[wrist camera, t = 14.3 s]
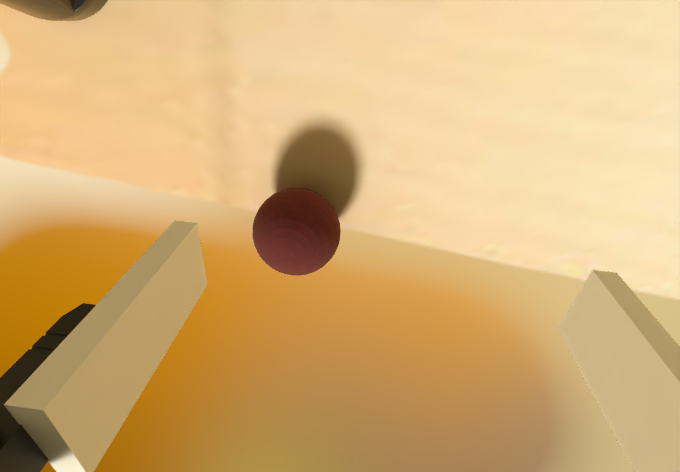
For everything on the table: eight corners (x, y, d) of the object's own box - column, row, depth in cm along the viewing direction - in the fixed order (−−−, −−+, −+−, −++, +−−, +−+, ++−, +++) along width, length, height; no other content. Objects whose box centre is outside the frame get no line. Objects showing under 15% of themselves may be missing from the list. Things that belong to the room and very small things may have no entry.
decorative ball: (297, 256, 49) (276, 305, 41) (252, 197, 46) (219, 238, 37) (359, 226, 46) (352, 273, 37) (316, 160, 42) (296, 195, 33)
